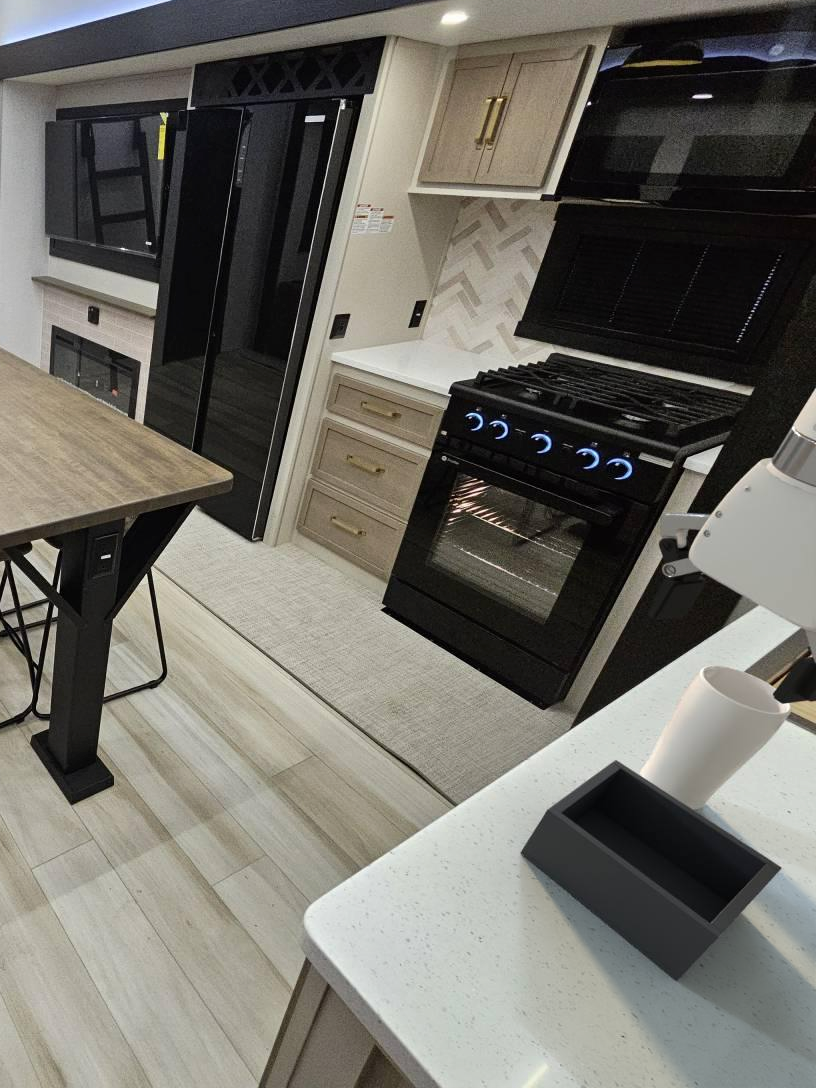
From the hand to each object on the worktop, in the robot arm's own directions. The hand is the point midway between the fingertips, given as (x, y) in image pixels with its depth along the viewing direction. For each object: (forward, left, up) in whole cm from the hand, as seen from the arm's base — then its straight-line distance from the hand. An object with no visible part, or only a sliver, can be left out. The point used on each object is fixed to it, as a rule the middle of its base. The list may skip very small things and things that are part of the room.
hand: (723, 654), depth 55 cm
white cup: (-12, -9, -25) cm, 29 cm away
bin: (-1, +3, -25) cm, 25 cm away
